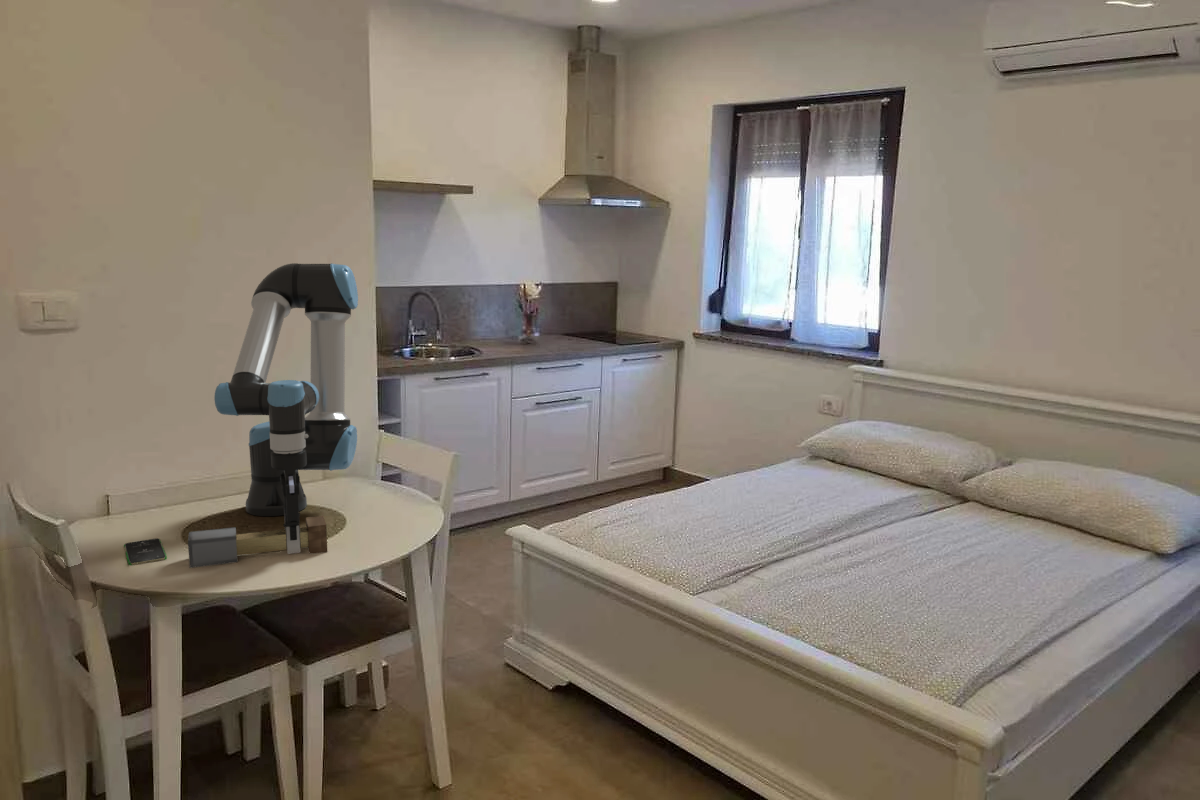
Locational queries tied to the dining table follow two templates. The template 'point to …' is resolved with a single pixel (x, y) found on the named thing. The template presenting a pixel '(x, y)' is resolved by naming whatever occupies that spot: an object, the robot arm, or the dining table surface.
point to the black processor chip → (144, 551)
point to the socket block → (317, 534)
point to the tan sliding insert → (268, 540)
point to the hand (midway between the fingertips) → (293, 548)
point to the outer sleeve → (212, 547)
